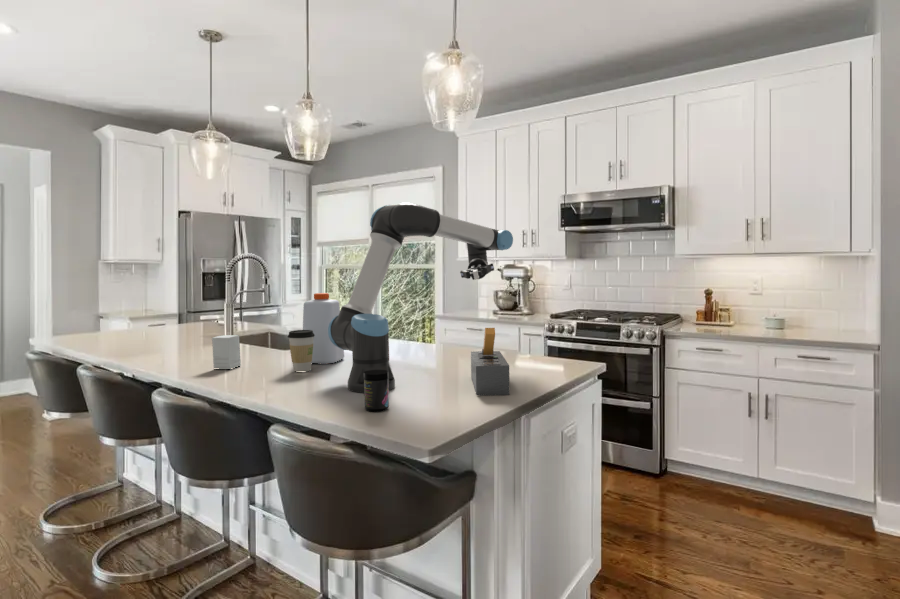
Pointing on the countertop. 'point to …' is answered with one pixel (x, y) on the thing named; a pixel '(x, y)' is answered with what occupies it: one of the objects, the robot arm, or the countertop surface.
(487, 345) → the lever
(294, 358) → the coffee cup
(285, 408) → the countertop surface
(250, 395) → the countertop surface
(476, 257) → the robot arm
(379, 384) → the supplement container
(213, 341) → the supplement box
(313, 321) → the plastic bottle
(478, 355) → the dark gray slotted block
